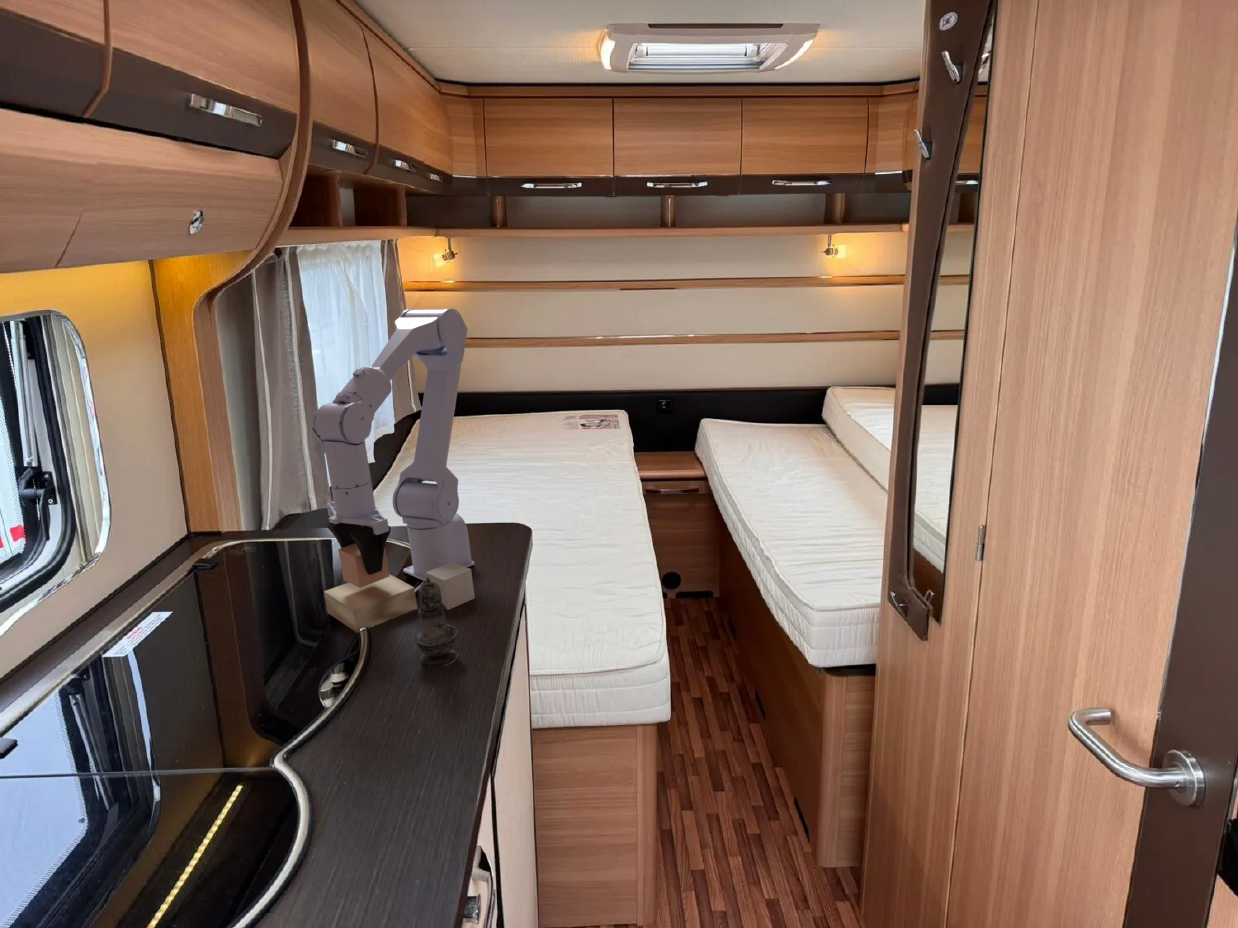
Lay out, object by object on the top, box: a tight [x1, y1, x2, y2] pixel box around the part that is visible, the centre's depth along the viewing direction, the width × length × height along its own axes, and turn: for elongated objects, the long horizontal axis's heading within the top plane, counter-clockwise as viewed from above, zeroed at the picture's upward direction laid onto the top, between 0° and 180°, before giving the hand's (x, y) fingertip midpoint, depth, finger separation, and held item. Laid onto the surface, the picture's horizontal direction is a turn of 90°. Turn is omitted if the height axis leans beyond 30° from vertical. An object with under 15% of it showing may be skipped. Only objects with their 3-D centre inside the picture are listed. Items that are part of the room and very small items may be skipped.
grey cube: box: [426, 562, 475, 610], centre depth 135 cm, size 5×5×5 cm
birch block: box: [323, 573, 418, 634], centre depth 133 cm, size 10×10×4 cm
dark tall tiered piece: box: [413, 577, 460, 669], centre depth 116 cm, size 6×6×12 cm
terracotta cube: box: [337, 543, 390, 588], centre depth 131 cm, size 5×5×5 cm
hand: (365, 567), depth 131 cm, fingers closed on terracotta cube, 5 cm apart
